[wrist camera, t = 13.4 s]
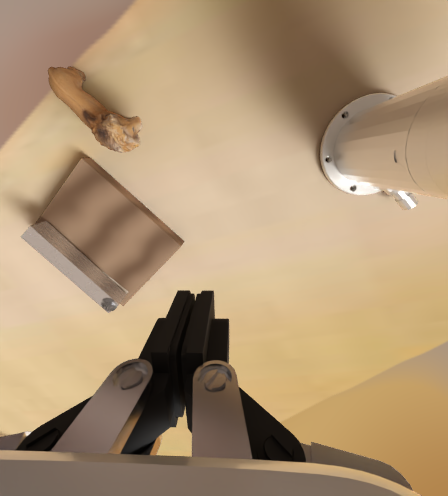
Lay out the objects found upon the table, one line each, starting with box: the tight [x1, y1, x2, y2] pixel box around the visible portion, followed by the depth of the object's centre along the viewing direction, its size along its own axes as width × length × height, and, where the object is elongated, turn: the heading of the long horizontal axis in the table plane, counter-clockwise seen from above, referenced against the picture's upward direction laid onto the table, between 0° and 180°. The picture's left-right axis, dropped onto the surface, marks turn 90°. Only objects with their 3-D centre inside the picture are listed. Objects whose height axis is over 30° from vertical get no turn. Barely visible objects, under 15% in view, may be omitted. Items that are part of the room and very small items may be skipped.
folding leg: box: [21, 221, 127, 313], centre depth 36 cm, size 16×2×3 cm, turn 41°
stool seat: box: [36, 158, 184, 306], centre depth 38 cm, size 18×15×2 cm
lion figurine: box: [48, 67, 142, 153], centre depth 29 cm, size 15×5×9 cm, turn 55°
